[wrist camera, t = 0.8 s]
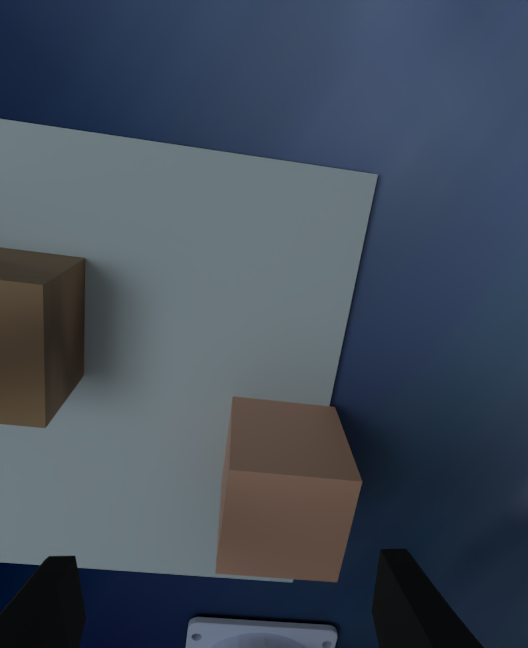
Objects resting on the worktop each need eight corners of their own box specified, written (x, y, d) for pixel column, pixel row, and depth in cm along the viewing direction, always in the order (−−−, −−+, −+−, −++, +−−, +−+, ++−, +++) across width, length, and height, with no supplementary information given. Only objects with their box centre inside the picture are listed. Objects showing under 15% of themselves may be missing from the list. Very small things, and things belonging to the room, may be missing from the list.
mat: (291, 575, 24) (292, 582, 24) (-31, 553, 23) (-36, 559, 22) (374, 174, 18) (377, 174, 17) (-72, 108, 16) (-79, 107, 16)
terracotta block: (316, 490, 22) (337, 582, 17) (221, 482, 22) (215, 573, 17) (335, 406, 20) (362, 481, 16) (232, 396, 20) (229, 470, 15)
